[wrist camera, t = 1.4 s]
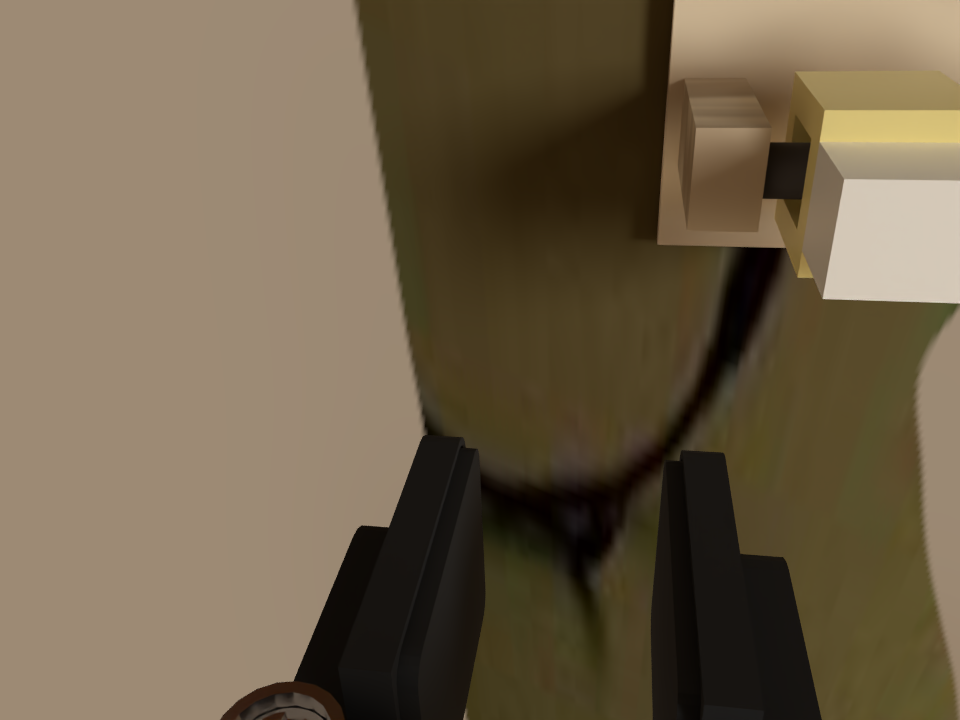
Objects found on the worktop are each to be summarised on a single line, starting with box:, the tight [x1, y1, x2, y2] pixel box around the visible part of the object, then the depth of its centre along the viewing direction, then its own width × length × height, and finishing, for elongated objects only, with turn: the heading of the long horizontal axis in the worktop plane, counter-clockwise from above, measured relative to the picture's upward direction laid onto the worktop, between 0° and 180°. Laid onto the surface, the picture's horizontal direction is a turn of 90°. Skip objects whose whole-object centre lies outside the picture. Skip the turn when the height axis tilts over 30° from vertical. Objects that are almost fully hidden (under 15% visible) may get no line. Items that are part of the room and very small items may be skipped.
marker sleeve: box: [774, 71, 960, 303], centre depth 23 cm, size 5×4×8 cm
